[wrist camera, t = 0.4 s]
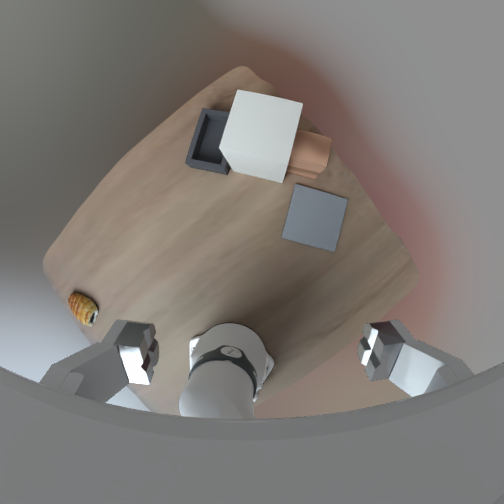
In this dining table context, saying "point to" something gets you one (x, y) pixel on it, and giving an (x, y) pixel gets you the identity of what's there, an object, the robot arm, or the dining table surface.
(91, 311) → the pastry
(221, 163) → the bin
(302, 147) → the block
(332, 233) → the mat
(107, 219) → the dining table surface
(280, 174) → the white arch frame
